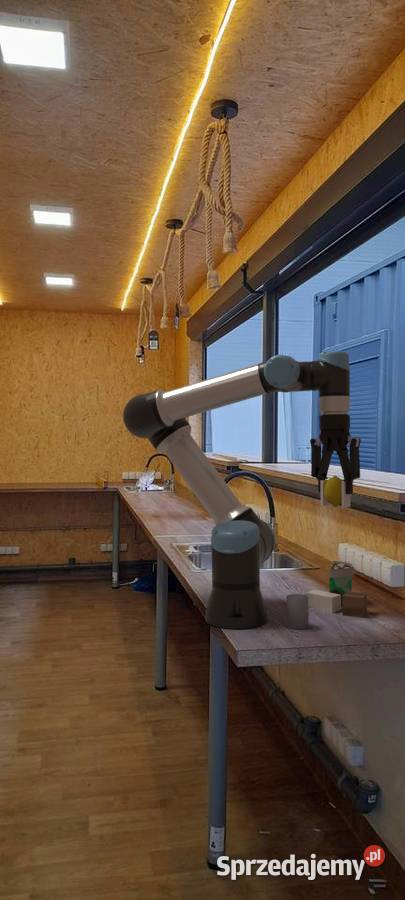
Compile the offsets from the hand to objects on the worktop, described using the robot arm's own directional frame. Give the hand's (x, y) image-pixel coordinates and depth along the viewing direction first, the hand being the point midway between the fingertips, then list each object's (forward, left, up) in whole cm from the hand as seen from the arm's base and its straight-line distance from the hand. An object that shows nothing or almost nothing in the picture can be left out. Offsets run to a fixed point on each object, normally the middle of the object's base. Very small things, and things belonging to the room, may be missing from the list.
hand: (335, 506), depth 159 cm
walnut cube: (+2, -4, -27) cm, 27 cm away
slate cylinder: (-16, 0, -27) cm, 31 cm away
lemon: (0, 0, -1) cm, 1 cm away
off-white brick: (+1, +5, -27) cm, 27 cm away
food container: (+9, +4, -27) cm, 29 cm away
